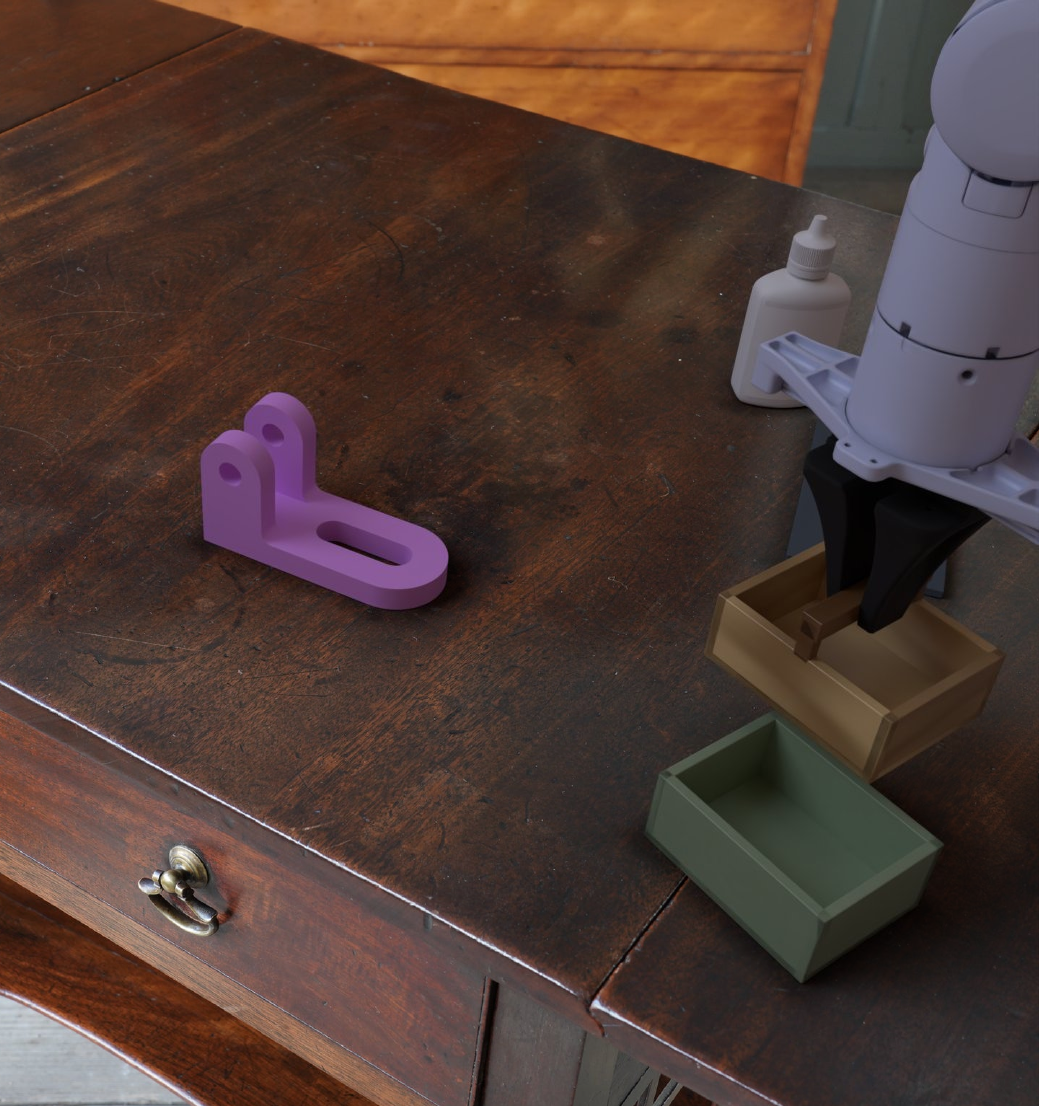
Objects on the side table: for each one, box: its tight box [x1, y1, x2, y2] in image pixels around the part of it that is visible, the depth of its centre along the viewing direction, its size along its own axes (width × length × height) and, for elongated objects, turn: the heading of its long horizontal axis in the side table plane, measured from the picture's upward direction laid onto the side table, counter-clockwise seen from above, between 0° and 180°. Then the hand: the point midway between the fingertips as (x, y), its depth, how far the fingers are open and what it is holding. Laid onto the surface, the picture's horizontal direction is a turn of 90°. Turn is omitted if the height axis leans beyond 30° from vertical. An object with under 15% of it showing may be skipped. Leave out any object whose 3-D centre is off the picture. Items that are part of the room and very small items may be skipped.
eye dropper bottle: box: [730, 214, 852, 409], centre depth 87 cm, size 4×6×12 cm
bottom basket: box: [643, 709, 945, 984], centre depth 61 cm, size 9×7×4 cm
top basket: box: [703, 541, 1007, 785], centre depth 60 cm, size 9×7×6 cm
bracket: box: [200, 391, 449, 611], centre depth 76 cm, size 13×6×7 cm, turn 59°
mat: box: [784, 418, 948, 599], centre depth 82 cm, size 14×8×1 cm, turn 158°
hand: (863, 609), depth 59 cm, fingers closed on top basket
